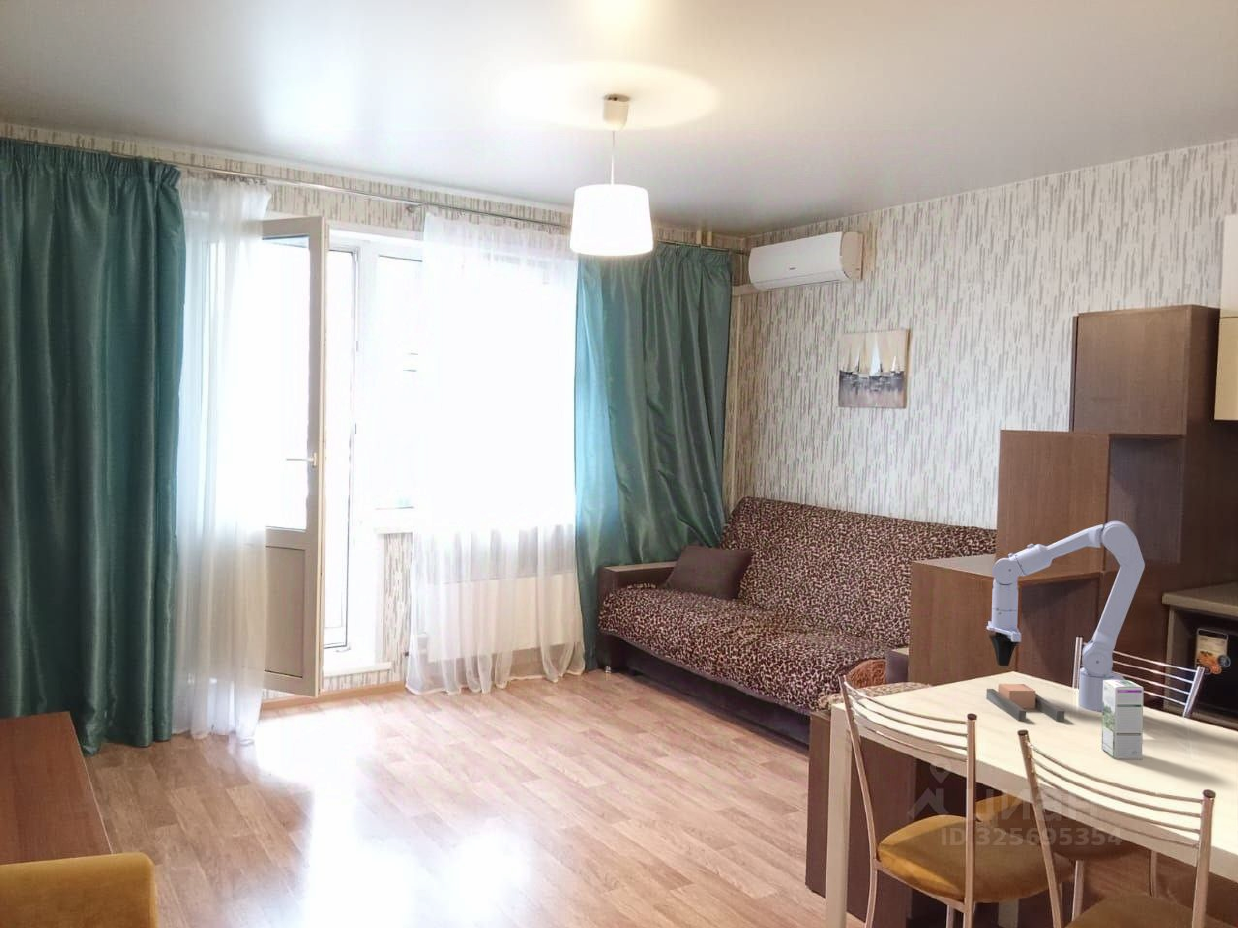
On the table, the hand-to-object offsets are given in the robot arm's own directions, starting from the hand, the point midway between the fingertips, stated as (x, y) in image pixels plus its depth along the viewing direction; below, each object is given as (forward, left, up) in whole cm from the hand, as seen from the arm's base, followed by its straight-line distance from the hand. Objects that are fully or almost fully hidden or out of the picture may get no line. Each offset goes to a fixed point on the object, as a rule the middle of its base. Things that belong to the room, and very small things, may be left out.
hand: (1003, 665), depth 236 cm
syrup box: (-8, +39, -9) cm, 41 cm away
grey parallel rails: (0, +12, -8) cm, 15 cm away
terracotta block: (0, +8, -7) cm, 11 cm away
